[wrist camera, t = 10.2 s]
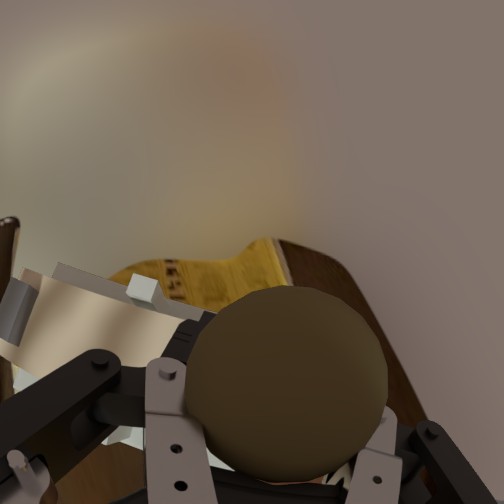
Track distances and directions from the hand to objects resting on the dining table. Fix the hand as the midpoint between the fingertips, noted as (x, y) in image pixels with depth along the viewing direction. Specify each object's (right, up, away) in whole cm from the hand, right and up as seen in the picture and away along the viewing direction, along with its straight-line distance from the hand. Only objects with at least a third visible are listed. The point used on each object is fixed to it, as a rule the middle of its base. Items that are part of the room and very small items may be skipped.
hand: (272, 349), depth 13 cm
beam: (-10, -4, +9) cm, 14 cm away
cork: (-1, -4, +3) cm, 5 cm away
